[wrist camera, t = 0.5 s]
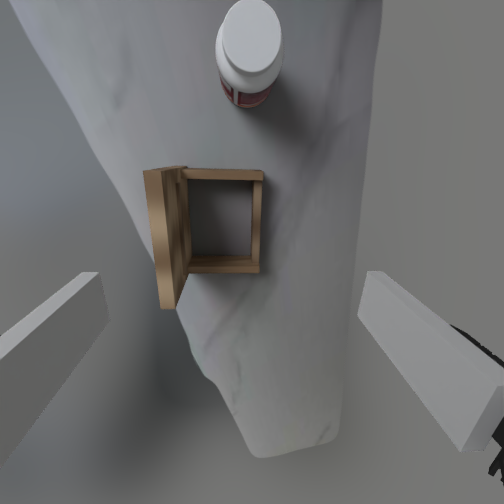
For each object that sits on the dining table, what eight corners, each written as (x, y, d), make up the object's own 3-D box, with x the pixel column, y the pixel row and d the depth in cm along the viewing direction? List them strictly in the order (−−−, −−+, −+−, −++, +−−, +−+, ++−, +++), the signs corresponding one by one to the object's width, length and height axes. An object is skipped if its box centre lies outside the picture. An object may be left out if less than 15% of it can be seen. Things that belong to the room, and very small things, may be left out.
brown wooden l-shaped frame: (174, 165, 32) (142, 170, 21) (260, 167, 33) (273, 173, 22) (182, 263, 37) (160, 309, 26) (256, 262, 38) (266, 307, 27)
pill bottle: (280, 63, 29) (306, 11, 18) (259, 117, 31) (272, 98, 20) (231, 35, 27) (229, -36, 17) (212, 94, 29) (201, 60, 19)
